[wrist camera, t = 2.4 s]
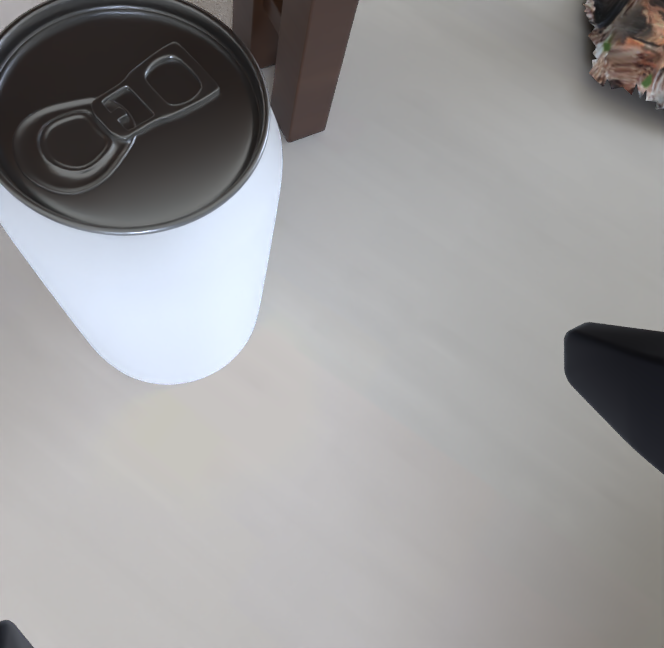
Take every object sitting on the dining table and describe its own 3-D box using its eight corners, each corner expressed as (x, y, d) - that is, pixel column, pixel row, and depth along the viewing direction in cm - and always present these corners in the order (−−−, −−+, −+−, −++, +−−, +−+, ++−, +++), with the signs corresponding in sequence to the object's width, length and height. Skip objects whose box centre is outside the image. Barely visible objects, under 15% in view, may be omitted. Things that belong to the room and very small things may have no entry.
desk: (366, 200, 26) (633, -393, 9) (-92, 380, 21) (-1373, -190, 4) (270, 28, 28) (346, -732, 11) (-173, 157, 23) (-1300, -878, 6)
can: (44, 292, 23) (-133, 68, 11) (184, 194, 25) (153, -79, 13) (158, 425, 22) (92, 326, 11) (293, 312, 24) (357, 130, 13)
